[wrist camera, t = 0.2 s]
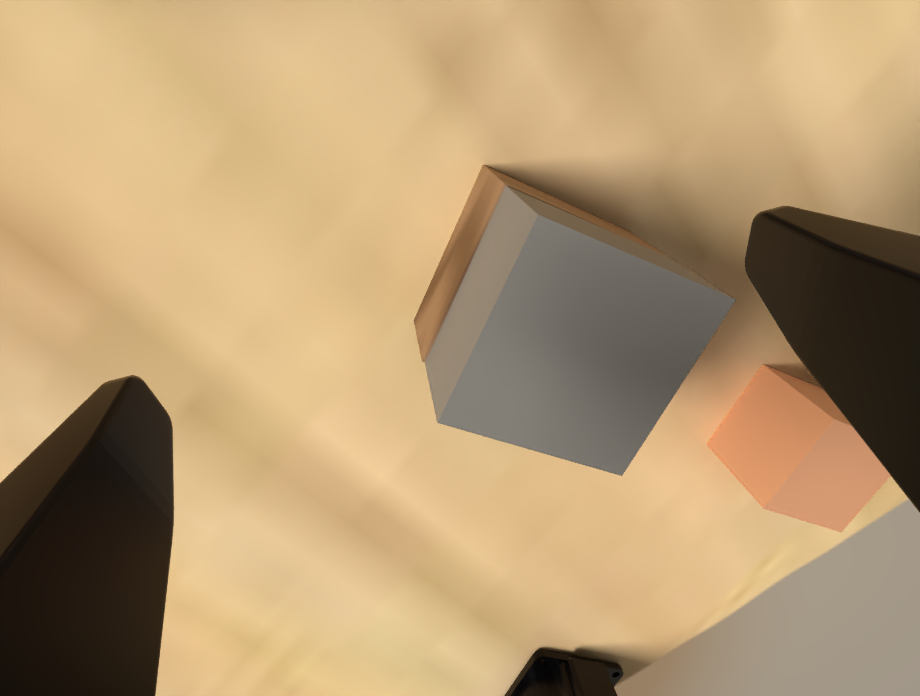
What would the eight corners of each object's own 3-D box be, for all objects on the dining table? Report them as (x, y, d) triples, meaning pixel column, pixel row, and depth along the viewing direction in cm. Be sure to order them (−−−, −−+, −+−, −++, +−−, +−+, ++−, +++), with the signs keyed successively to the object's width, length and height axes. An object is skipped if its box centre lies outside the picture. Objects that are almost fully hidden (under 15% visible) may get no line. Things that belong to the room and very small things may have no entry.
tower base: (551, 367, 27) (580, 413, 24) (413, 318, 25) (421, 361, 22) (628, 230, 25) (672, 259, 22) (482, 163, 23) (504, 183, 19)
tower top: (583, 413, 24) (622, 475, 20) (424, 363, 22) (437, 422, 18) (674, 259, 22) (735, 299, 18) (505, 185, 19) (538, 214, 16)
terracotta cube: (775, 466, 32) (841, 532, 28) (705, 443, 31) (763, 508, 26) (833, 392, 31) (913, 450, 26) (761, 363, 29) (834, 419, 25)
